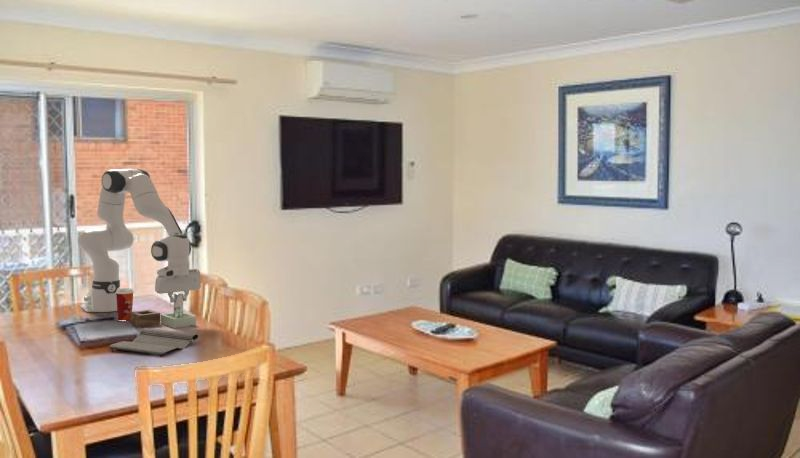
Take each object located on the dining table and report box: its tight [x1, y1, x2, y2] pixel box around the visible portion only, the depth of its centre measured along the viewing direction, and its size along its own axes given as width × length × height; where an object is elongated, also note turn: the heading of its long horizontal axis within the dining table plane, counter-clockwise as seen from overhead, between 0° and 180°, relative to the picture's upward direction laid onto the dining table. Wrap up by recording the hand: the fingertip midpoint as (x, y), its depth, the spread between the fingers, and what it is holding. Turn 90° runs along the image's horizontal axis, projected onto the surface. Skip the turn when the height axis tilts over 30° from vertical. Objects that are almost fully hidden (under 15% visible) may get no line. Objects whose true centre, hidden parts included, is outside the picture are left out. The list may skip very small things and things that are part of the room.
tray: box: [160, 311, 197, 329], centre depth 292 cm, size 12×10×4 cm
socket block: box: [129, 309, 161, 328], centre depth 290 cm, size 9×9×5 cm
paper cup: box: [115, 287, 135, 322], centre depth 296 cm, size 8×8×14 cm
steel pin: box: [173, 292, 184, 319], centre depth 291 cm, size 4×4×11 cm
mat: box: [108, 327, 199, 357], centre depth 253 cm, size 23×24×5 cm
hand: (178, 301), depth 291 cm, fingers closed on steel pin, 4 cm apart
